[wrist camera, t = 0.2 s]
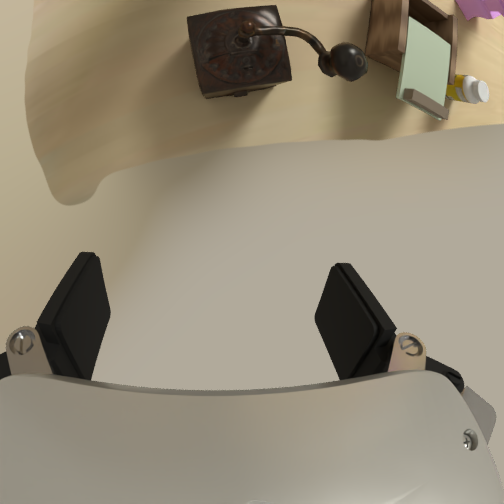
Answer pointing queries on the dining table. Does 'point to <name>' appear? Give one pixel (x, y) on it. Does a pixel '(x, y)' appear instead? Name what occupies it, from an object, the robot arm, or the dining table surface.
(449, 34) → the box
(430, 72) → the lid
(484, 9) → the toy chair
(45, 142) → the dining table surface
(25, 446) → the robot arm
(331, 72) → the brown manual coffee grinder
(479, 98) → the supplement bottle
